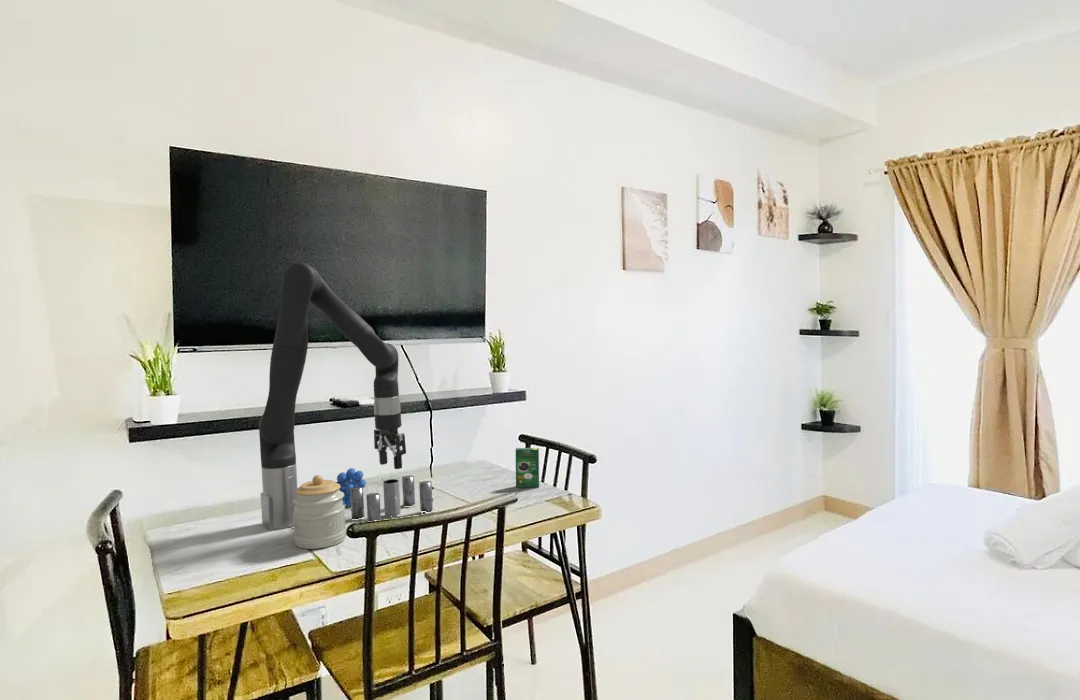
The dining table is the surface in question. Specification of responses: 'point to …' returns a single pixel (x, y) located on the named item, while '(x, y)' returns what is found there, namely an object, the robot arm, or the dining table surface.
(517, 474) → the coffee box
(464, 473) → the dining table surface
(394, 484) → the hollow grey tube
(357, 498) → the spacer posts
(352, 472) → the grapes
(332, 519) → the jar
